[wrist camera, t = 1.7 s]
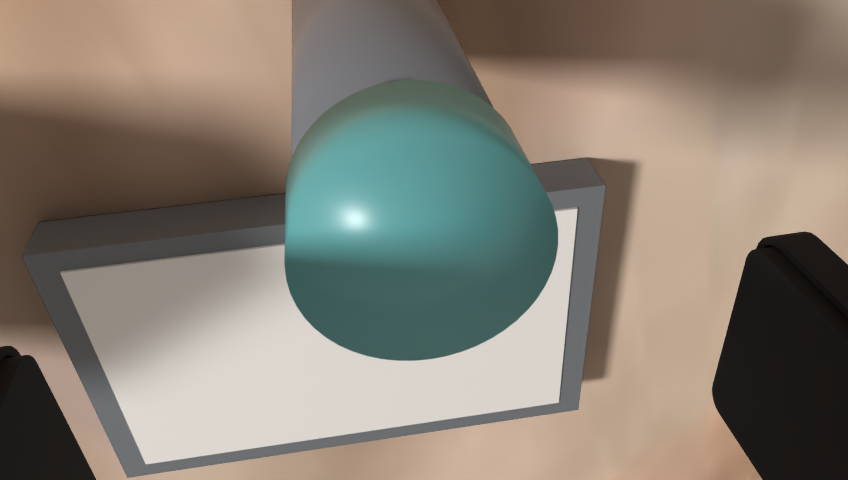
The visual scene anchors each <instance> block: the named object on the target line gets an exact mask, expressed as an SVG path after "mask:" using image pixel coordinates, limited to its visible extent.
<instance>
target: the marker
mask: <svg viewBox="0 0 848 480" xmlns="http://www.w3.org/2000/svg"><path fill="white" fill-rule="evenodd" d="M557 249H558V226H557V220H556V215H555V212H554V209H553V206H552V203H551V201H550V199H549V198H548V196H547V194H546V192H545V190H544V188H543V186H542V185H541V183H540V181H539V179H538V177H537V175H536V174H535V172H534V170H533V168H532V166H531V164H530V162H529V161H528V159H527V157H526V155H525V153H524V151H523V150H522V148H521V146H520V144H519V142H518V140H517V139H516V137H515V135H514V133H513V131H512V129H511V128H510V126H509V125H508V124H507V122H506V121H505V120H504V118H503V117H502V116H501V115H500V114H499V113H498V112H497V111H496V110H495V109H494V108H493V106H492V104H491V102H490V100H489V98H488V96H487V94H486V92H485V90H484V89H483V87H482V85H481V83H480V81H479V79H478V77H477V75H476V73H475V71H474V70H473V68H472V66H471V64H470V62H469V60H468V58H467V56H466V54H465V52H464V51H463V49H462V47H461V45H460V43H459V41H458V39H457V37H456V35H455V33H454V32H453V30H452V28H451V26H450V24H449V22H448V20H447V18H446V16H445V14H444V13H443V11H442V9H441V7H440V5H439V3H438V1H437V0H292V159H291V162H290V164H289V168H288V173H287V178H286V195H285V258H284V266H285V274H286V281H287V284H288V288H289V291H290V294H291V296H292V298H293V300H294V302H295V304H296V306H297V308H298V309H299V311H300V312H301V314H302V315H303V316H304V318H305V319H306V320H307V321H308V322H309V323H310V324H311V325H312V326H313V327H314V328H315V329H316V330H317V331H318V332H320V333H321V334H322V335H323V336H325V337H326V338H327V339H329V340H331V341H332V342H334V343H336V344H337V345H339V346H341V347H344V348H346V349H348V350H350V351H353V352H356V353H359V354H362V355H365V356H369V357H374V358H379V359H385V360H396V361H417V360H428V359H434V358H440V357H445V356H449V355H452V354H456V353H459V352H462V351H465V350H468V349H470V348H473V347H475V346H478V345H480V344H482V343H484V342H486V341H488V340H490V339H491V338H493V337H495V336H496V335H498V334H499V333H501V332H502V331H504V330H505V329H507V328H508V327H509V326H511V325H512V324H513V323H514V322H516V321H517V320H518V319H519V318H520V317H521V316H522V315H523V314H524V313H525V312H526V311H527V310H528V309H529V308H530V307H531V305H532V304H533V303H534V302H535V301H536V299H537V298H538V297H539V295H540V293H541V292H542V290H543V289H544V287H545V286H546V283H547V281H548V279H549V277H550V275H551V273H552V270H553V267H554V263H555V260H556V255H557Z"/></svg>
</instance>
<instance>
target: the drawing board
mask: <svg viewBox="0 0 848 480" xmlns="http://www.w3.org/2000/svg"><path fill="white" fill-rule="evenodd" d="M531 166H532V168H533V170H534V172H535V174H536V175H537V177H538V179H539V181H540V183H541V185H542V186H543V188H544V190H545V192H546V194H547V196H548V198H549V199H550V201H551V203H552V206H553V209H554V212H555V215H556V220H557V226H558V249H557V255H556V260H555V263H554V267H553V270H552V273H551V275H550V277H549V279H548V281H547V283H546V286H545V287H544V289H543V290H542V292H541V293H540V295H539V297H538V298H537V299H536V301H535V302H534V303H533V304H532V305H531V307H530V308H529V309H528V310H527V311H526V312H525V313H524V314H523V315H522V316H521V317H520V318H519V319H518V320H517V321H516V322H514V323H513V324H512V325H511V326H509V327H508V328H507V329H505V330H504V331H502V332H501V333H499V334H498V335H496V336H495V337H493V338H491V339H490V340H488V341H486V342H484V343H482V344H480V345H478V346H475V347H473V348H470V349H468V350H465V351H462V352H459V353H456V354H452V355H449V356H445V357H440V358H434V359H428V360H417V361H396V360H385V359H379V358H374V357H369V356H365V355H362V354H359V353H356V352H353V351H350V350H348V349H346V348H344V347H341V346H339V345H337V344H336V343H334V342H332V341H331V340H329V339H327V338H326V337H325V336H323V335H322V334H321V333H320V332H318V331H317V330H316V329H315V328H314V327H313V326H312V325H311V324H310V323H309V322H308V321H307V320H306V319H305V318H304V316H303V315H302V314H301V312H300V311H299V309H298V308H297V306H296V304H295V302H294V300H293V298H292V296H291V294H290V291H289V288H288V284H287V281H286V274H285V266H284V258H285V195H286V193H284V194H276V195H267V196H259V197H250V198H242V199H233V200H224V201H216V202H207V203H199V204H190V205H182V206H173V207H165V208H156V209H148V210H139V211H131V212H122V213H114V214H105V215H97V216H88V217H80V218H71V219H63V220H54V221H46V222H39V223H38V225H37V227H36V228H35V230H34V232H33V234H32V236H31V238H30V240H29V242H28V244H27V246H26V248H25V250H24V252H23V254H22V256H21V257H22V259H23V261H24V263H25V265H26V267H27V269H28V271H29V273H30V275H31V278H32V280H33V282H34V284H35V286H36V288H37V290H38V292H39V294H40V296H41V298H42V300H43V303H44V305H45V307H46V309H47V311H48V313H49V315H50V317H51V319H52V321H53V323H54V326H55V328H56V330H57V332H58V334H59V336H60V338H61V340H62V342H63V344H64V346H65V348H66V351H67V353H68V355H69V357H70V359H71V361H72V363H73V365H74V367H75V369H76V371H77V373H78V376H79V378H80V380H81V382H82V384H83V386H84V388H85V390H86V392H87V394H88V396H89V399H90V401H91V403H92V405H93V407H94V409H95V411H96V413H97V415H98V417H99V419H100V421H101V424H102V426H103V428H104V430H105V432H106V434H107V436H108V438H109V440H110V442H111V444H112V446H113V449H114V451H115V453H116V455H117V457H118V459H119V461H120V463H121V465H122V467H123V469H124V472H125V474H126V476H127V478H129V477H135V476H142V475H148V474H155V473H162V472H168V471H175V470H182V469H188V468H195V467H201V466H208V465H215V464H221V463H228V462H235V461H241V460H248V459H254V458H261V457H268V456H274V455H281V454H288V453H294V452H301V451H307V450H314V449H321V448H327V447H334V446H341V445H347V444H354V443H360V442H367V441H374V440H380V439H387V438H394V437H400V436H407V435H413V434H420V433H427V432H433V431H440V430H447V429H453V428H460V427H466V426H473V425H480V424H486V423H493V422H500V421H506V420H513V419H519V418H526V417H533V416H539V415H546V414H553V413H559V412H566V411H572V410H578V408H579V400H580V391H581V383H582V375H583V367H584V359H585V351H586V342H587V334H588V326H589V318H590V310H591V302H592V293H593V285H594V277H595V269H596V261H597V253H598V244H599V236H600V228H601V220H602V212H603V204H604V195H605V187H606V185H605V183H604V182H603V180H602V179H601V178H600V176H599V175H598V173H597V172H596V170H595V169H594V167H593V166H592V164H591V163H590V161H589V160H588V158H582V159H573V160H565V161H556V162H548V163H539V164H531Z"/></svg>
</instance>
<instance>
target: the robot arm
mask: <svg viewBox="0 0 848 480" xmlns="http://www.w3.org/2000/svg"><path fill="white" fill-rule="evenodd" d="M712 394H713V400H714V403H715V406H716V408H717V410H718V412H719V414H720V415H721V417H722V418H723V420H724V421H725V423H726V424H727V426H728V428H729V429H730V431H731V432H732V434H733V435H734V437H735V438H736V440H737V441H738V443H739V444H740V446H741V447H742V449H743V450H744V452H745V453H746V455H747V456H748V458H749V460H750V461H751V463H752V464H753V466H754V467H755V469H756V470H757V472H758V473H759V475H760V476H761V478H762V479H763V480H848V265H847V264H846V263H845V262H844V261H843V260H842V259H841V258H840V257H839V256H838V255H836V254H835V253H834V252H833V251H832V250H831V249H830V248H829V247H828V246H827V245H826V244H824V243H823V242H822V241H821V240H820V239H819V238H818V237H817V236H815V235H814V234H812V233H809V232H799V233H792V234H785V235H778V236H771V237H766V238H763V239H762V240H761V241H760V242H759V243H758V246H757V248H756V249H755V250H752V251H751V252H750V253H749V254H748V256H747V258H746V262H745V265H744V269H743V273H742V277H741V280H740V284H739V288H738V292H737V295H736V299H735V303H734V307H733V311H732V314H731V318H730V322H729V326H728V329H727V333H726V337H725V341H724V344H723V348H722V352H721V356H720V359H719V363H718V367H717V371H716V375H715V378H714V382H713V387H712ZM0 480H96V478H95V476H94V474H93V472H92V470H91V468H90V466H89V465H88V463H87V461H86V459H85V457H84V455H83V453H82V451H81V449H80V447H79V445H78V443H77V441H76V439H75V437H74V435H73V433H72V431H71V429H70V427H69V425H68V423H67V421H66V419H65V417H64V415H63V413H62V411H61V409H60V407H59V405H58V403H57V401H56V399H55V397H54V395H53V393H52V391H51V390H50V388H49V386H48V384H47V382H46V380H45V378H44V376H43V374H42V372H41V370H40V368H39V366H38V364H37V362H36V361H35V359H34V358H33V357H32V356H30V355H24V356H21V355H20V354H19V352H18V351H17V350H16V349H15V348H14V347H12V346H3V347H0Z"/></svg>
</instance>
